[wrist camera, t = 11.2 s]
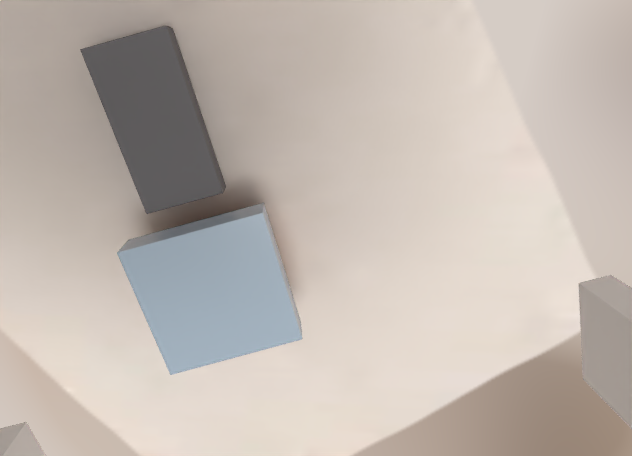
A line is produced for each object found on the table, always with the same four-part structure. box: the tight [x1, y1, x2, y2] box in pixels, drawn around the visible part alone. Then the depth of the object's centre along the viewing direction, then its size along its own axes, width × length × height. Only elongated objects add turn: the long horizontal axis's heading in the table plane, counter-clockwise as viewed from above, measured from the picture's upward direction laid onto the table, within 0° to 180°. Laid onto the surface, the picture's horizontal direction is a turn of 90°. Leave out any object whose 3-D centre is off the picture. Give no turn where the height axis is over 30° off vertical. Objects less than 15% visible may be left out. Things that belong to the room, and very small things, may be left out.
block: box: [80, 26, 226, 214], centre depth 34 cm, size 12×6×2 cm, turn 14°
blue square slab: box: [117, 203, 302, 375], centre depth 33 cm, size 10×10×2 cm
